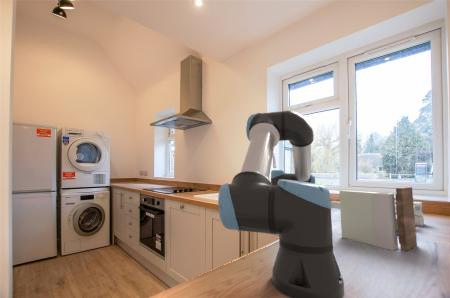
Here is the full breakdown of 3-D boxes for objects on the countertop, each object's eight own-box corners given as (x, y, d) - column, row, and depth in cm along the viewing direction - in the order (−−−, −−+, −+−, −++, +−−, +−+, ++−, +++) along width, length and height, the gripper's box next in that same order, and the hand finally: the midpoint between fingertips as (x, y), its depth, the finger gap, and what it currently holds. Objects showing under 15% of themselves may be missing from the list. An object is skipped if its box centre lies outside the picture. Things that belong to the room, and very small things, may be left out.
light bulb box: (424, 224, 108) (422, 201, 109) (423, 226, 103) (421, 203, 104) (396, 220, 115) (395, 199, 116) (395, 222, 110) (393, 201, 111)
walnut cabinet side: (382, 246, 75) (378, 187, 77) (394, 240, 81) (390, 186, 83) (405, 252, 70) (400, 188, 72) (417, 245, 76) (412, 187, 78)
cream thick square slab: (340, 237, 85) (338, 190, 87) (347, 235, 88) (344, 190, 90) (392, 250, 72) (388, 194, 73) (398, 247, 74) (393, 193, 76)
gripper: (309, 207, 114) (351, 213, 97) (276, 212, 100) (318, 220, 83) (308, 192, 115) (350, 196, 98) (275, 195, 101) (317, 200, 84)
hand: (335, 207), depth 90 cm, fingers open, 13 cm apart
